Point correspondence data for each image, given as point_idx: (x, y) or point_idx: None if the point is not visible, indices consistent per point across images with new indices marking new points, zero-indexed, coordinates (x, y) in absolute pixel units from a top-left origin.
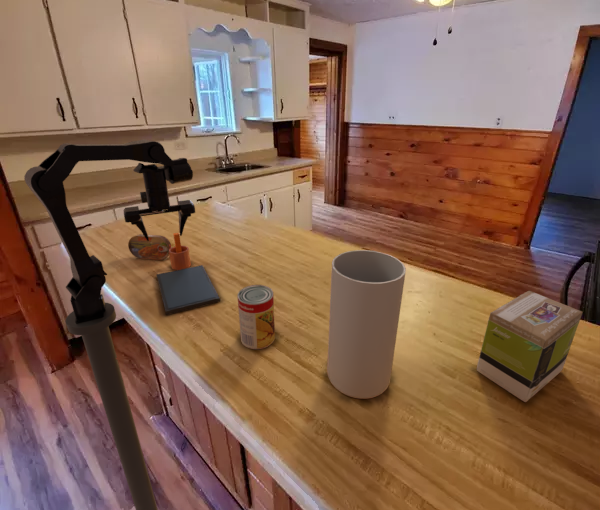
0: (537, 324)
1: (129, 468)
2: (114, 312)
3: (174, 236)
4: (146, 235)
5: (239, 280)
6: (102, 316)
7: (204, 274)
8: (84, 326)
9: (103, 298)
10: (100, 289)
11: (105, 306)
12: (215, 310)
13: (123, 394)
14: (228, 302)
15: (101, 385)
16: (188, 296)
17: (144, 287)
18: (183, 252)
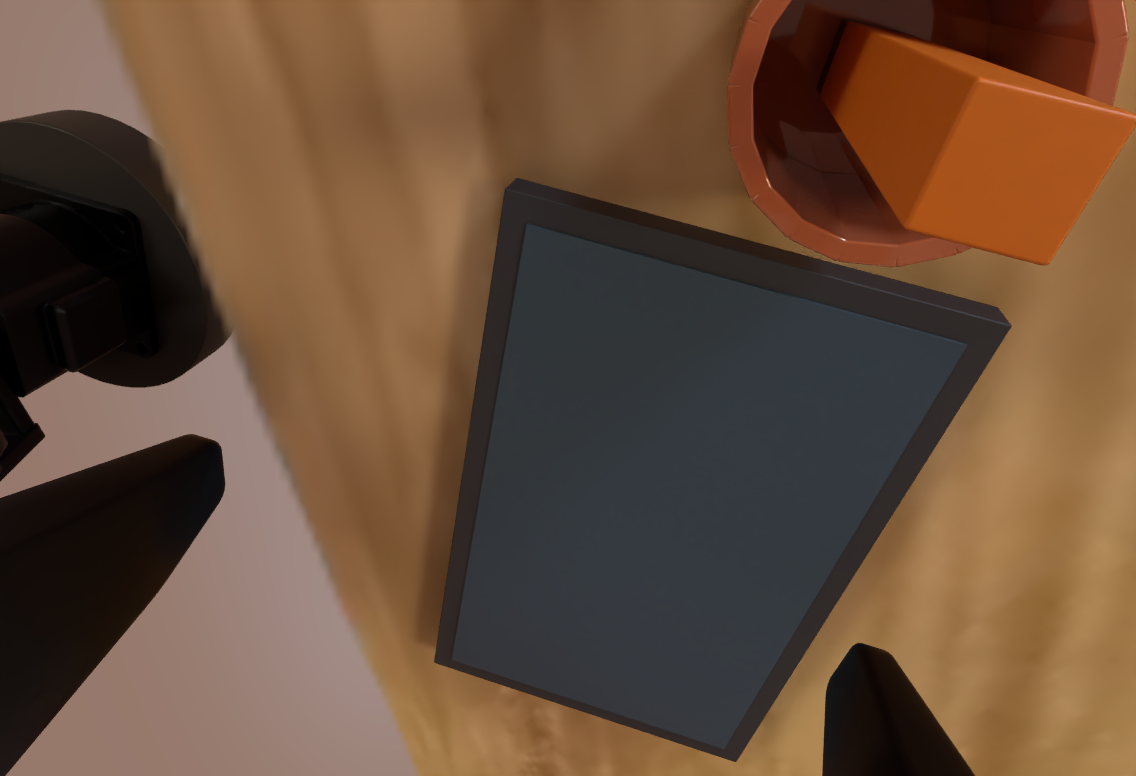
0: None
1: None
2: (216, 319)
3: (899, 220)
4: (95, 635)
5: (1034, 678)
6: (149, 357)
7: (867, 510)
8: (80, 370)
9: (91, 308)
10: (5, 471)
11: (142, 287)
12: (669, 761)
13: None
14: (768, 766)
15: None
16: (593, 649)
17: (382, 278)
18: (892, 263)
